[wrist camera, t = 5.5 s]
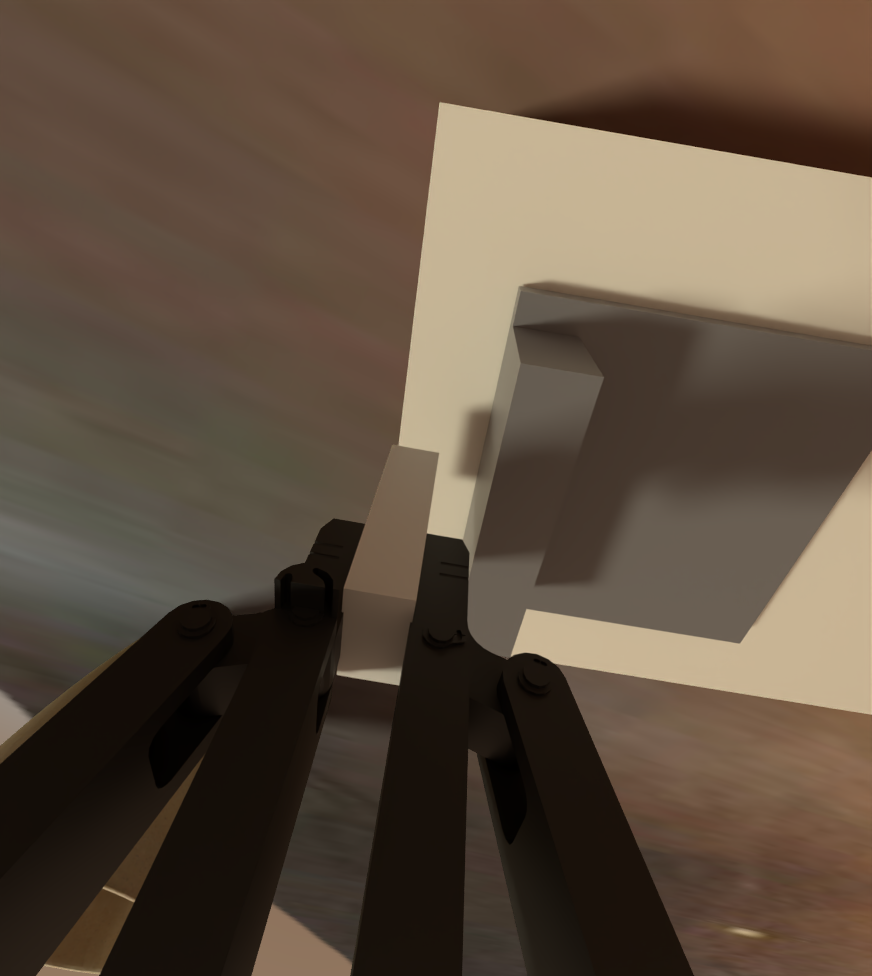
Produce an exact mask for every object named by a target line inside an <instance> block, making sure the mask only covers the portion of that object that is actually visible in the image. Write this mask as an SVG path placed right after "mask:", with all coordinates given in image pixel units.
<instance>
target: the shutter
mask: <svg viewBox="0 0 872 976" xmlns="http://www.w3.org/2000/svg"><path fill="white" fill-rule="evenodd" d="M871 451H872V346H870V345H864V344H859V343H853V342H847V341H841V340H835V339H829V338H823V337H817V336H812V335H806V334H800V333H794V332H788V331H782V330H776V329H770V328H765V327H759V326H753V325H747V324H741V323H735V322H729V321H723V320H718V319H712V318H706V317H700V316H694V315H688V314H682V313H676V312H671V311H665V310H659V309H653V308H647V307H641V306H635V305H629V304H624V303H618V302H612V301H606V300H600V299H594V298H588V297H582V296H576V295H571V294H565V293H559V292H553V291H547V290H541V289H535V288H529V287H524V286H519V287H518V292H517V297H516V301H515V306H514V310H513V315H512V319H511V324H510V328H509V333H508V337H507V342H506V347H505V351H504V356H503V360H502V365H501V369H500V374H499V378H498V383H497V387H496V392H495V397H494V401H493V406H492V410H491V415H490V419H489V424H488V428H487V433H486V437H485V442H484V446H483V451H482V456H481V460H480V465H479V469H478V474H477V478H476V483H475V487H474V492H473V496H472V501H471V506H470V510H469V515H468V519H467V524H466V528H465V533H464V537H463V542H464V543H465V545H466V547H467V549H468V551H469V553H470V555H469V579H468V580H469V586H468V617H467V622H468V628H469V631H470V633H471V635H472V637H473V638H474V639H475V641H476V642H477V643H478V644H480V645H481V646H482V647H483V648H484V649H486V650H488V651H490V652H491V653H493V654H495V655H498V656H503V657H511V654H512V651H513V648H514V645H515V642H516V639H517V636H518V633H519V630H520V627H521V624H522V621H523V618H524V615H525V612H526V609H529V610H536V611H542V612H548V613H554V614H560V615H566V616H572V617H579V618H585V619H591V620H597V621H603V622H609V623H615V624H622V625H628V626H634V627H640V628H646V629H652V630H659V631H665V632H671V633H677V634H683V635H689V636H695V637H702V638H708V639H714V640H720V641H726V642H732V643H738V644H740V643H741V641H742V640H743V638H744V637H745V636H746V634H747V633H748V631H749V630H750V628H751V627H752V625H753V624H754V622H755V621H756V619H757V618H758V616H759V615H760V614H761V612H762V611H763V609H764V608H765V606H766V605H767V603H768V602H769V600H770V599H771V597H772V596H773V594H774V593H775V592H776V590H777V589H778V587H779V586H780V584H781V583H782V581H783V580H784V578H785V577H786V575H787V574H788V572H789V571H790V570H791V568H792V567H793V565H794V564H795V562H796V561H797V559H798V558H799V556H800V555H801V553H802V552H803V550H804V549H805V548H806V546H807V545H808V543H809V542H810V540H811V539H812V537H813V536H814V534H815V533H816V531H817V530H818V528H819V527H820V526H821V524H822V523H823V521H824V520H825V518H826V517H827V515H828V514H829V512H830V511H831V509H832V508H833V506H834V505H835V504H836V502H837V501H838V499H839V498H840V496H841V495H842V493H843V492H844V490H845V489H846V487H847V486H848V484H849V483H850V482H851V480H852V479H853V477H854V476H855V474H856V473H857V471H858V470H859V468H860V467H861V465H862V464H863V462H864V461H865V460H866V458H867V457H868V455H869V454H870V452H871Z"/></svg>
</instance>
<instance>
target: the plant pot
mask: <svg viewBox="0 0 872 976" xmlns="http://www.w3.org/2000/svg"><path fill="white" fill-rule="evenodd" d="M138 640H139V639H138ZM138 640H137V641H138ZM137 641H135V642H134V643H136V642H137ZM134 643H132V644H131V645H129V646H128V647H126V648H125V649H123V650H122V651H120V652H119V653H117V654H116V655H114V656H113V657H112V658H110V659H109V660H107V661H106V662H104V663H103V664H102V665H100V666H99V667H97V668H96V669H95V670H93V671H92V672H91V673H89V674H88V675H87V676H85V677H84V678H83V679H81V680H80V681H79V682H77V683H76V684H75V685H73V686H72V687H71V688H70V689H68V690H67V691H66V692H64V693H63V694H62V695H61V696H59V697H58V698H57V699H56V700H54V701H53V702H52V703H51V704H49V705H48V706H47V707H46V708H44V709H43V710H42V711H41V712H39V713H38V714H37V715H36V716H35V717H33V718H32V719H31V720H30V721H29V722H27V723H26V724H25V725H24V726H23V727H22V728H20V729H19V730H18V731H17V732H16V733H15V734H13V735H12V736H11V737H10V738H9V739H8V740H7V741H5V742H4V743H3V744H2V745H1V746H0V764H1V763H2V762H3V761H4V760H5V759H6V758H7V757H8V756H9V755H11V754H12V753H13V752H14V751H15V750H16V749H17V748H18V747H20V746H21V745H22V744H23V743H24V742H25V741H26V740H27V739H28V738H30V737H31V736H32V735H33V734H34V733H35V732H36V731H37V730H38V729H40V728H41V727H42V726H43V725H44V724H45V723H46V722H47V721H49V720H50V719H51V718H52V717H53V716H54V715H55V714H56V713H57V712H59V711H60V710H61V709H62V708H63V707H64V706H65V705H66V704H67V703H69V702H70V701H71V700H72V699H73V698H74V697H75V696H76V695H78V694H79V693H80V692H81V691H82V690H83V689H84V688H85V687H86V686H88V685H89V684H90V683H91V682H92V681H93V680H94V679H95V678H97V677H98V676H99V675H100V674H101V673H102V672H103V671H104V670H105V669H107V668H108V667H109V666H110V665H111V664H112V663H113V662H114V661H115V660H117V659H118V658H119V657H120V656H121V655H122V654H123V653H124V652H126V651H127V650H128V649H129V648H130V647H131V646H132V645H133V644H134ZM204 755H205V754H204ZM203 758H204V756H203V757H202V758H201V760H200V761H199V762H198V764H197V765H196V766H195V768H194V769H193V770H192V771H191V773H190V774H189V775H188V777H187V778H186V779H185V781H184V782H183V783H182V785H181V786H180V787H179V789H178V790H177V791H176V792H175V794H174V795H173V796H172V798H171V799H170V800H169V802H168V803H167V804H166V806H165V807H164V808H163V810H162V811H161V812H160V813H159V815H158V816H157V817H156V819H155V820H154V821H153V823H152V824H151V825H150V827H149V828H148V829H147V831H146V832H145V833H144V834H143V836H142V837H141V838H140V840H139V841H138V842H137V844H136V845H135V846H134V848H133V849H132V850H131V852H130V853H129V854H128V855H127V857H126V858H125V859H124V861H123V862H122V863H121V865H120V866H119V867H118V869H117V870H116V871H115V872H114V874H113V875H112V876H111V878H110V879H109V880H108V882H107V883H106V884H105V886H104V887H103V888H102V890H101V891H100V892H99V893H98V895H97V896H96V897H95V899H94V900H93V901H92V903H91V904H90V905H89V907H88V908H87V909H86V911H85V912H84V913H83V914H82V916H81V917H80V918H79V920H78V921H77V922H76V924H75V925H74V926H73V928H72V929H71V930H70V932H69V933H68V934H67V935H66V937H65V938H64V939H63V941H62V942H61V943H60V945H59V946H58V947H57V949H56V950H55V951H54V953H53V954H52V955H51V956H50V958H49V959H48V960H47V962H46V963H45V964H44V966H48V967H54V968H60V969H65V970H71V971H76V972H84V973H92V974H100V973H101V971H102V968H103V966H104V964H105V962H106V960H107V958H108V956H109V954H110V952H111V950H112V948H113V945H114V943H115V941H116V939H117V937H118V935H119V933H120V931H121V929H122V927H123V925H124V923H125V920H126V918H127V916H128V914H129V912H130V910H131V908H132V906H133V904H134V902H135V900H136V897H137V895H138V893H139V891H140V889H141V887H142V885H143V883H144V881H145V879H146V877H147V874H148V872H149V870H150V868H151V866H152V864H153V862H154V860H155V858H156V856H157V854H158V852H159V849H160V847H161V845H162V843H163V841H164V839H165V837H166V835H167V833H168V831H169V829H170V826H171V824H172V822H173V820H174V818H175V816H176V814H177V812H178V810H179V808H180V806H181V804H182V801H183V799H184V797H185V795H186V793H187V791H188V789H189V787H190V785H191V783H192V781H193V778H194V776H195V774H196V772H197V770H198V768H199V766H200V764H201V762H202V760H203Z"/></svg>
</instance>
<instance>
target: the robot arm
mask: <svg viewBox="0 0 872 976" xmlns="http://www.w3.org/2000/svg"><path fill="white" fill-rule="evenodd" d="M438 458H439V453H438V452H432V451H426V450H420V449H415V448H409V447H403V446H398V445H392V447H391V450H390V453H389V456H388V459H387V462H386V464H385V467H384V470H383V473H382V476H381V479H380V482H379V485H378V488H377V491H376V494H375V497H374V500H373V503H372V506H371V509H370V512H369V515H368V518H367V521H366V524H362V523H356V522H351V521H345V520H339V519H332V520H331V521H330V522H329V523H327V524H326V525H325V526H323V527H322V528H321V529H320V532H319V534H318V536H317V538H316V540H315V544H313V547H312V549H311V551H310V555H308V557H307V560H306V562H305V563H301V564H297V565H292V566H290V567H288V568H286V569H284V570H283V571H281V572H280V573H279V574H278V576H277V577H276V578H275V579H274V583H275V608H274V609H271V610H269V611H266V612H262V613H257V614H248V615H237V616H232V614H231V613H230V611H229V609H228V608H227V607H226V606H224V605H223V604H221V603H219V602H215V601H210V600H198V601H191V602H189V603H186V604H183V605H180V606H178V607H177V608H175V609H174V610H172V611H171V612H169V613H168V614H167V615H166V616H165V617H163V618H162V619H161V620H160V621H159V622H158V623H157V624H156V625H155V626H153V627H152V628H151V629H150V630H149V631H148V632H147V633H146V634H144V635H143V636H142V637H141V638H140V639H139V640H138V641H137V642H136V643H134V644H133V645H132V646H131V647H130V648H129V649H128V650H127V651H126V652H124V653H123V654H122V655H121V656H120V657H119V658H118V659H117V660H115V661H114V662H113V663H112V664H111V665H110V666H109V667H108V668H107V669H105V670H104V671H103V672H102V673H101V674H100V675H99V676H98V677H97V678H95V679H94V680H93V681H92V682H91V683H90V684H89V685H88V686H86V687H85V688H84V689H83V690H82V691H81V692H80V693H79V694H78V695H76V696H75V697H74V698H73V699H72V700H71V701H70V702H69V703H67V704H66V705H65V706H64V707H63V708H62V709H61V710H60V711H59V712H57V713H56V714H55V715H54V716H53V717H52V718H51V719H50V720H49V721H47V722H46V723H45V724H44V725H43V726H42V727H41V728H40V729H38V730H37V731H36V732H35V733H34V734H33V735H32V736H31V737H30V738H28V739H27V740H26V741H25V742H24V743H23V744H22V745H21V746H20V747H18V748H17V749H16V750H15V751H14V752H13V753H12V754H11V755H9V756H8V757H7V758H6V759H5V760H4V761H3V762H2V763H1V764H0V976H36V975H37V973H38V972H39V971H40V969H41V968H42V967H43V966H44V964H45V963H46V962H47V960H48V959H49V958H50V956H51V955H52V954H53V953H54V951H55V950H56V949H57V947H58V946H59V945H60V943H61V942H62V941H63V939H64V938H65V937H66V935H67V934H68V933H69V932H70V930H71V929H72V928H73V926H74V925H75V924H76V922H77V921H78V920H79V918H80V917H81V916H82V914H83V913H84V912H85V911H86V909H87V908H88V907H89V905H90V904H91V903H92V901H93V900H94V899H95V897H96V896H97V895H98V893H99V892H100V891H101V890H102V888H103V887H104V886H105V884H106V883H107V882H108V880H109V879H110V878H111V876H112V875H113V874H114V872H115V871H116V870H117V869H118V867H119V866H120V865H121V863H122V862H123V861H124V859H125V858H126V857H127V855H128V854H129V853H130V852H131V850H132V849H133V848H134V846H135V845H136V844H137V842H138V841H139V840H140V838H141V837H142V836H143V834H144V833H145V832H146V831H147V829H148V828H149V827H150V825H151V824H152V823H153V821H154V820H155V819H156V817H157V816H158V815H159V813H160V812H161V811H162V810H163V808H164V807H165V806H166V804H167V803H168V802H169V800H170V799H171V798H172V796H173V795H174V794H175V792H176V791H177V790H178V789H179V787H180V786H181V785H182V783H183V782H184V781H185V779H186V778H187V777H188V775H189V774H190V773H191V771H192V770H193V769H194V768H195V766H196V765H197V764H198V762H199V761H200V760H201V758H202V757H203V756H204V758H203V760H202V762H201V764H200V766H199V768H198V770H197V772H196V774H195V776H194V778H193V781H192V783H191V785H190V787H189V789H188V791H187V793H186V795H185V797H184V799H183V801H182V804H181V806H180V808H179V810H178V812H177V814H176V816H175V818H174V820H173V822H172V824H171V826H170V829H169V831H168V833H167V835H166V837H165V839H164V841H163V843H162V845H161V847H160V849H159V852H158V854H157V856H156V858H155V860H154V862H153V864H152V866H151V868H150V870H149V872H148V874H147V877H146V879H145V881H144V883H143V885H142V887H141V889H140V891H139V893H138V895H137V897H136V900H135V902H134V904H133V906H132V908H131V910H130V912H129V914H128V916H127V918H126V920H125V923H124V925H123V927H122V929H121V931H120V933H119V935H118V937H117V939H116V941H115V943H114V945H113V948H112V950H111V952H110V954H109V956H108V958H107V960H106V962H105V964H104V966H103V968H102V971H101V973H100V975H99V976H251V975H252V971H253V967H254V964H255V961H256V957H257V954H258V951H259V947H260V944H261V940H262V936H263V933H264V930H265V926H266V922H267V919H268V915H269V912H270V909H271V905H272V902H273V898H274V895H275V891H276V888H277V884H278V881H279V878H280V874H281V871H282V867H283V864H284V860H285V857H286V853H287V850H288V846H289V843H290V839H291V836H292V832H293V829H294V825H295V822H296V818H297V815H298V811H299V808H300V805H301V801H302V798H303V794H304V791H305V787H306V784H307V780H308V777H309V773H310V770H311V766H312V763H313V759H314V756H315V752H316V749H317V745H318V742H319V738H320V735H321V731H322V728H323V725H324V721H325V718H326V714H327V711H328V707H329V704H330V700H331V696H332V683H333V679H334V676H335V672H336V669H337V675H340V676H346V677H352V678H358V679H364V680H370V681H376V682H382V683H388V684H394V685H399V689H398V695H397V700H396V706H395V711H394V717H393V722H392V730H391V736H390V742H389V748H388V754H387V760H386V766H385V772H384V777H383V783H382V789H381V795H380V801H379V807H378V813H377V819H376V825H375V831H374V837H373V843H372V849H371V855H370V861H369V867H368V873H367V879H366V885H365V891H364V897H363V903H362V909H361V915H360V921H359V927H358V933H357V939H356V945H355V951H354V957H353V963H352V969H351V975H350V976H462V953H463V916H464V878H465V841H466V804H467V767H468V749H470V750H472V751H474V752H476V753H477V757H478V761H479V766H480V770H481V774H482V779H483V783H484V788H485V792H486V796H487V801H488V805H489V809H490V814H491V818H492V823H493V827H494V831H495V836H496V840H497V844H498V849H499V853H500V858H501V862H502V866H503V871H504V875H505V879H506V884H507V888H508V893H509V897H510V901H511V906H512V910H513V914H514V919H515V923H516V927H517V932H518V936H519V941H520V945H521V949H522V954H523V958H524V962H525V967H526V971H527V976H694V975H693V972H692V970H691V968H690V966H689V963H688V961H687V959H686V956H685V954H684V952H683V949H682V947H681V945H680V942H679V940H678V938H677V935H676V933H675V931H674V928H673V926H672V924H671V921H670V919H669V917H668V914H667V912H666V910H665V908H664V905H663V903H662V901H661V898H660V896H659V894H658V891H657V889H656V887H655V884H654V882H653V880H652V877H651V875H650V873H649V870H648V868H647V866H646V863H645V861H644V859H643V857H642V854H641V852H640V850H639V847H638V845H637V843H636V840H635V838H634V836H633V833H632V831H631V829H630V826H629V824H628V822H627V819H626V817H625V815H624V813H623V810H622V808H621V806H620V803H619V801H618V799H617V796H616V794H615V792H614V789H613V787H612V785H611V782H610V780H609V778H608V775H607V773H606V771H605V768H604V766H603V764H602V761H601V759H600V757H599V755H598V752H597V750H596V748H595V745H594V743H593V741H592V738H591V736H590V734H589V731H588V729H587V727H586V724H585V722H584V720H583V717H582V715H581V713H580V711H579V708H578V706H577V704H576V701H575V699H574V697H573V694H572V692H571V690H570V687H569V685H568V683H567V680H566V678H565V677H564V675H563V673H562V672H561V670H560V669H559V668H558V667H557V666H556V665H555V664H554V663H552V662H551V661H550V660H549V659H547V658H545V657H542V656H540V655H538V654H533V653H520V654H516V655H513V656H512V657H511V658H509V659H508V660H506V659H504V658H502V657H500V656H498V655H495V654H493V653H491V652H490V651H488V650H486V649H484V648H483V647H482V646H481V645H480V644H478V643H477V642H476V641H475V639H474V638H473V637H472V635H471V633H470V631H469V628H468V622H467V617H468V586H469V580H468V579H469V555H470V553H469V551H468V549H467V547H466V545H465V543H464V542H463V540H462V539H457V538H451V537H445V536H439V535H433V534H428V533H427V529H428V522H429V516H430V509H431V503H432V496H433V490H434V484H435V477H436V471H437V464H438ZM204 754H205V755H204Z"/></svg>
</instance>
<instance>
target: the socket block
mask: <svg viewBox="0 0 872 976" xmlns="http://www.w3.org/2000/svg"><path fill="white" fill-rule="evenodd" d="M519 286H524V287H529V288H535V289H541V290H547V291H553V292H559V293H565V294H571V295H576V296H582V297H588V298H594V299H600V300H606V301H612V302H618V303H624V304H629V305H635V306H641V307H647V308H653V309H659V310H665V311H671V312H676V313H682V314H688V315H694V316H700V317H706V318H712V319H718V320H723V321H729V322H735V323H741V324H747V325H753V326H759V327H765V328H770V329H776V330H782V331H788V332H794V333H800V334H806V335H812V336H817V337H823V338H829V339H835V340H841V341H847V342H853V343H859V344H864V345H870V346H872V178H871V177H866V176H860V175H854V174H848V173H843V172H837V171H831V170H825V169H820V168H814V167H808V166H802V165H797V164H791V163H785V162H779V161H774V160H768V159H762V158H756V157H751V156H745V155H739V154H734V153H728V152H722V151H716V150H711V149H705V148H699V147H693V146H688V145H682V144H676V143H670V142H665V141H659V140H653V139H647V138H642V137H636V136H630V135H624V134H619V133H613V132H607V131H601V130H596V129H590V128H584V127H578V126H573V125H567V124H561V123H555V122H550V121H544V120H538V119H533V118H527V117H521V116H515V115H510V114H504V113H498V112H492V111H487V110H481V109H475V108H469V107H464V106H458V105H452V104H446V103H441V102H440V104H439V112H438V121H437V129H436V137H435V146H434V154H433V162H432V171H431V179H430V187H429V196H428V204H427V212H426V221H425V229H424V238H423V246H422V254H421V263H420V271H419V279H418V288H417V296H416V304H415V313H414V321H413V329H412V338H411V346H410V354H409V363H408V371H407V380H406V388H405V396H404V405H403V413H402V421H401V430H400V438H399V446H403V447H409V448H415V449H420V450H426V451H432V452H438V453H439V458H438V464H437V471H436V477H435V484H434V490H433V496H432V503H431V509H430V516H429V522H428V529H427V533H428V534H433V535H439V536H445V537H451V538H457V539H462V540H463V537H464V533H465V528H466V524H467V519H468V515H469V510H470V506H471V501H472V496H473V492H474V487H475V483H476V478H477V474H478V469H479V465H480V460H481V456H482V451H483V446H484V442H485V437H486V433H487V428H488V424H489V419H490V415H491V410H492V406H493V401H494V397H495V392H496V387H497V383H498V378H499V374H500V369H501V365H502V360H503V356H504V351H505V347H506V342H507V337H508V333H509V328H510V324H511V319H512V315H513V310H514V306H515V301H516V297H517V292H518V287H519ZM520 653H533V654H538V655H540V656H542V657H545V658H547V659H549V660H550V661H551V662H552V663H556V664H562V665H568V666H574V667H580V668H586V669H593V670H599V671H605V672H611V673H617V674H624V675H630V676H636V677H642V678H648V679H655V680H661V681H667V682H673V683H679V684H686V685H692V686H698V687H704V688H710V689H717V690H723V691H729V692H735V693H741V694H748V695H754V696H760V697H766V698H772V699H779V700H785V701H791V702H797V703H803V704H809V705H816V706H822V707H828V708H834V709H840V710H847V711H853V712H859V713H865V714H871V715H872V451H871V452H870V454H869V455H868V457H867V458H866V460H865V461H864V462H863V464H862V465H861V467H860V468H859V470H858V471H857V473H856V474H855V476H854V477H853V479H852V480H851V482H850V483H849V484H848V486H847V487H846V489H845V490H844V492H843V493H842V495H841V496H840V498H839V499H838V501H837V502H836V504H835V505H834V506H833V508H832V509H831V511H830V512H829V514H828V515H827V517H826V518H825V520H824V521H823V523H822V524H821V526H820V527H819V528H818V530H817V531H816V533H815V534H814V536H813V537H812V539H811V540H810V542H809V543H808V545H807V546H806V548H805V549H804V550H803V552H802V553H801V555H800V556H799V558H798V559H797V561H796V562H795V564H794V565H793V567H792V568H791V570H790V571H789V572H788V574H787V575H786V577H785V578H784V580H783V581H782V583H781V584H780V586H779V587H778V589H777V590H776V592H775V593H774V594H773V596H772V597H771V599H770V600H769V602H768V603H767V605H766V606H765V608H764V609H763V611H762V612H761V614H760V615H759V616H758V618H757V619H756V621H755V622H754V624H753V625H752V627H751V628H750V630H749V631H748V633H747V634H746V636H745V637H744V638H743V640H742V641H741V643H740V644H738V643H732V642H726V641H720V640H714V639H708V638H702V637H695V636H689V635H683V634H677V633H671V632H665V631H659V630H652V629H646V628H640V627H634V626H628V625H622V624H615V623H609V622H603V621H597V620H591V619H585V618H579V617H572V616H566V615H560V614H554V613H548V612H542V611H536V610H529V609H526V612H525V615H524V618H523V621H522V624H521V627H520V630H519V633H518V636H517V639H516V642H515V645H514V648H513V651H512V654H511V656H513V655H516V654H520Z"/></svg>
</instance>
